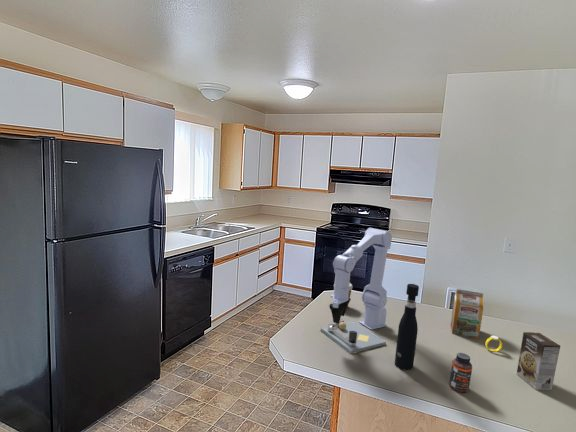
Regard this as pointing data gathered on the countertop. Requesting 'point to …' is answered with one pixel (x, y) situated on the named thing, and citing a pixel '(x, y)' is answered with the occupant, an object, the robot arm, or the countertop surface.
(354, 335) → the lever
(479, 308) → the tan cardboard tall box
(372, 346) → the base
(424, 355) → the countertop surface
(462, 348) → the countertop surface
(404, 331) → the black water bottle
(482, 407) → the countertop surface
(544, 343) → the brown food box
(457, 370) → the supplement bottle
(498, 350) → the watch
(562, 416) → the countertop surface
